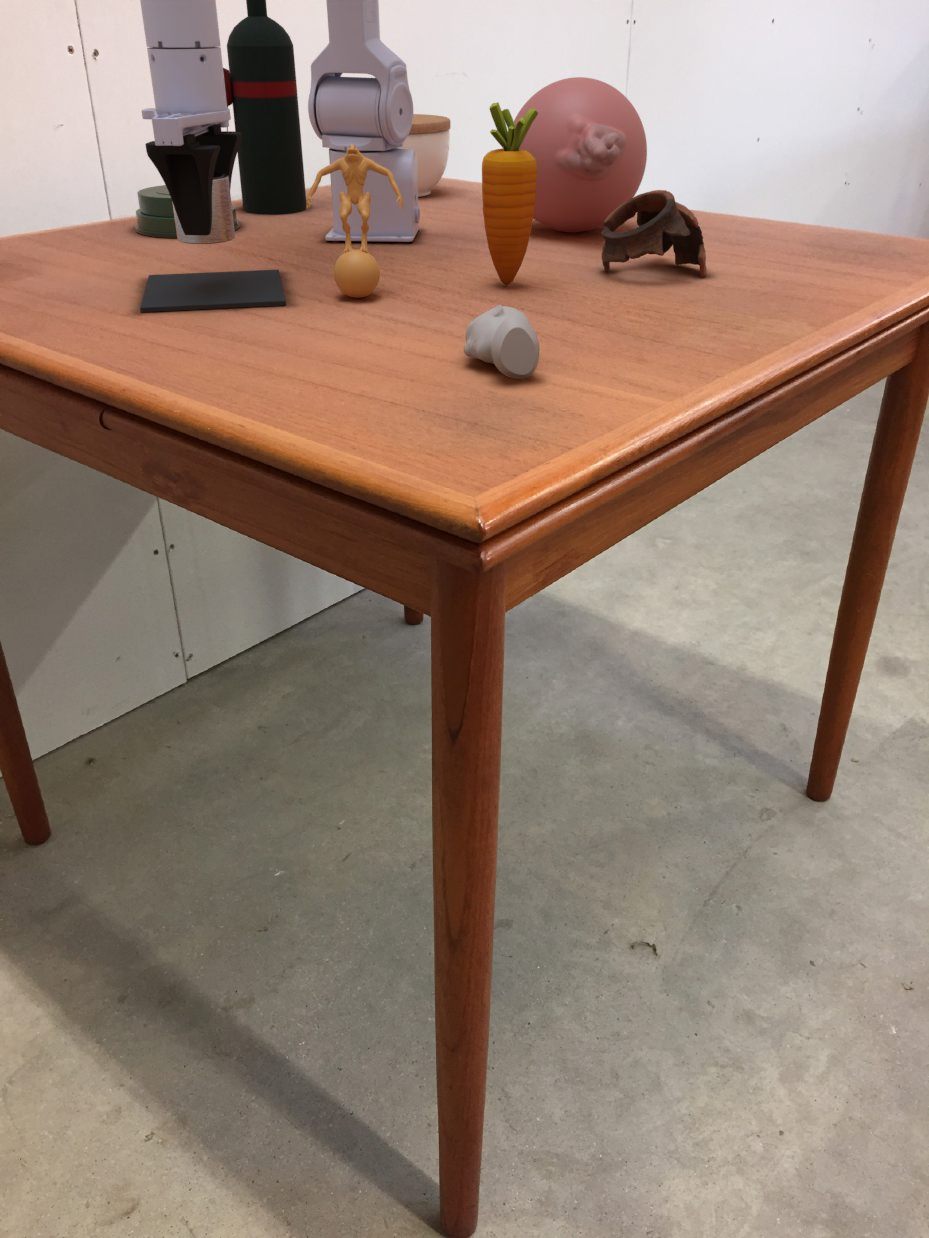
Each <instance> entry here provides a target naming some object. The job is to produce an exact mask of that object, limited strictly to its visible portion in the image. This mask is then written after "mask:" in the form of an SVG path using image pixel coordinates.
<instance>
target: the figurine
mask: <svg viewBox="0 0 929 1238" xmlns="http://www.w3.org/2000/svg"><path fill="white" fill-rule="evenodd" d="M337 170H341V172H342V176H343V178H344V180H345V184H346V186H347V195H346V194H345V192H341V193H340V194H339V199H340V211H339V212H340V219H341V221H342V223H343V225H342V228H343V230H344V231H345V233H346V238H345V241H344V242H345V243H344V245H345V246H344V249H343V252H342V254H341V255H340V256H339V257H338V258H337V260H336V261H335V264H334V266H333V279H334V282H335V284H336V286H337V288H338V289H339V290H340V291H341V292H342V293H343V294H344V295H346V296H348V297H351V298H354V299H356V298H357V299H359V298H360V299H361V298H365V297H367V296H369V295H370V294H372V293H373V292H374V291H375V290H376V288H377V286H378V285H379V282H380V277H381V272H380V267H379V263H378V262H377V260H376V258H375V257H374V256H372V255H371V254H370V253H369V249H368V241H367V231H368V230H369V225H368V223H367V221H368V219H369V216H370V202H371V194H370V193H369V192H365V193H364V195H363V186H364V183H365V179H366V176H367V171H368V170H373V171H375V172H377V173H380V174H382V175H385V176H388V179H389V182H390V183H391V186H392V188H393V190H394V192H395V194H396V195H397V196H398V199H397V202H398V201H399V208H400V206H401V208H402V209H404V204H403V199H402V196H401V194H400V191H399V188H398V186H397V184H396V183H395V180H394V177H393V174H392V173H391V172H390V171H389V170H388V169H386V168H385V167H383V166H381V165H378V164H377V163H375V162H374V161H373V160H371V159H368V158H366V157H364V156H363V155H362V154H361V153H360V152H359V150H358V149H357V147H356V146H355V145H350V146H349V147H348V149H347V152H346V154H345V156H344V157H342V158H340V159H338V160H336V161H335V162H334V163H332V164H330V163H329V164H327V166H324V167H323V168H321V169H320V170H319V171H318V172H317V173H316V176H315V179H314V182H313V183H312V186H311V187H310V189H309V192H308V195H307V196H306V210H309V209H310V208H311V203H313V199H312V197H313V196H314V195H315V193H316V191H317V190H318V187H319V185H320V183H321V181H322V177H324V176H327V175H330V173H332V172H334V171H337ZM352 203H353V204H355V205H356V204H358V206H357V208H358V212H359V214H360V215H361V217H362V220H363V223H362V225H361V230H362V241H360V242H361V243H360V248H358V249H357V248H356V249H353V247H352V241H351V234H350V225H349V224H348V223H347V218H348V216H349V215H350V214H351V212H352Z"/></svg>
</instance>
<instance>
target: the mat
mask: <svg viewBox="0 0 929 1238" xmlns="http://www.w3.org/2000/svg"><path fill="white" fill-rule="evenodd" d="M279 306H280V307H282V306H287V301H286V296H285V292H284V287H283V281H282V277H281V272H280V270H279V269H261V270H260V269H259V270H257V269H256V270H235V271H213V272H212V271H210V272H192V273H191V272H189V273H187V272H186V273H166V274H165V273H163V274H149V275H148V277H147V281H146V285H145V289H144V292H143V296H142V299H141V303H140V307H139V310H140V313H157V312H177V311H178V312H179V311H198V310H218V309H221V310H222V309H238V308H240V309H241V308H256V307H257V308H259V307H260V308H261V307H279Z"/></svg>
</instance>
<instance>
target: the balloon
mask: <svg viewBox="0 0 929 1238" xmlns="http://www.w3.org/2000/svg"><path fill="white" fill-rule="evenodd" d="M531 108H533V109H535V110H536V111H537V112H538V115H537V116H536V118H535V119H534V121H533V122H532V124H531V126H530V128H529V130H528V132H527V134H526V136H525V138H524V140H523V142H522V144H521V146H520V148H519V149H523V150H526V151H528V152H529V153H530V154H531V155H532V156H533V157H534V158H535V160H536V164H537V177H536V194H535V205H534V216H533V221H536V222H537V223H539V224H540V225H542V226H544V227H546V228H549V229H551V230H555V231H558V232H564V233H582V232H588V231H591V230H595V229H597V228H600V227H602V226H604V225H603V223H604V221H605V219H606V218H607V217H608V216H609V215H610V214H611V213H612V212H613V211H614V210H615V209H616V208H617V207H619V206H620V205H621V204H623V203H624V202H626V201H627V200H629V199H631V198H634V197H635V196H636V194H637V192H638V191H639V188H640V186H641V184H642V181H643V179H644V175H645V171H646V166H647V160H648V158H647V157H648V143H647V136H646V131H645V127H644V125H643V121H642V119H641V116H640V114H639V112H638V111H637V110H636V108H635V106H634V105H633V104H632V102H631V101H630V99H628V97H627V96H625V95H624V94H623V93H622V92H621V91H620V90H618V89H617V88H616V87H614V86H613V85H611V84H609V83H607V82H605V81H602V80H599V79H596V78H591V77H584V76H583V77H582V76H577V77H575V76H573V77H567V78H563V79H559V80H556V81H554V82H552V83H550V84H548V85H546V86H544V87H542V88H541V89H539V90H538V91H536V92H535V93H534V94H533V95H532V96H531V97H530V98H529V99H528V100H527V101H526V102H525V103H524V104H523V106H522V107H521V108H520V110H519V111H518V113H517V114H516V116H515V118H514V119H513V121H514V124H515V128H516V124H517V122H518V120H519V119H520V118H521V117H522V118H523V119H524V117H525V115H526V114H527V112H528V111H529V110H530V109H531Z"/></svg>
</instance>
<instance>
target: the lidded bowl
mask: <svg viewBox="0 0 929 1238" xmlns="http://www.w3.org/2000/svg"><path fill="white" fill-rule="evenodd" d="M450 130H451V119H450V118H449V117H447V116H443V115H435V114H422V113H413V122H412V127H411V130H410V132H409V134H408V136H407V138H406V139H405V141H404V142H403V146H402V147H398V148H399V149H412V150H415V152H416V157H417V173H418V198H419V197H420V198H421V197H426V196H429V195H431V194H432V190H433V188H435V186H437V184H438V183H439V182H440V181H441V179H442V178H443V175H444V173H445V171H446V168H447V165H448V160H449V155H450V154H449V152H450Z"/></svg>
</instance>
